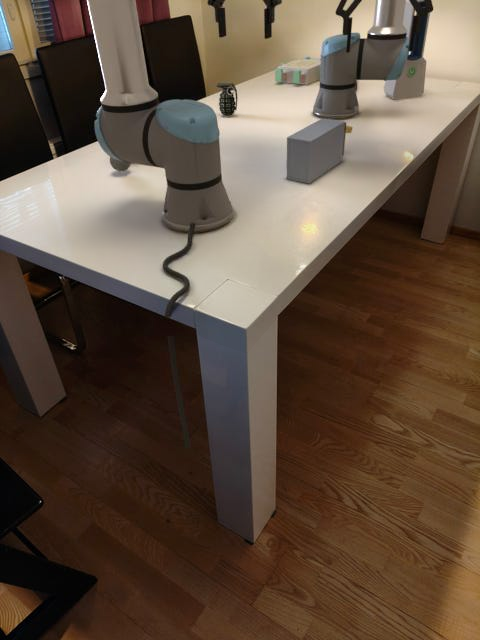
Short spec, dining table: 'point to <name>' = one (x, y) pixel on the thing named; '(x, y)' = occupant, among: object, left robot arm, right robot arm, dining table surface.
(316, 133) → the cabinet
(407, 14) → the electronic device
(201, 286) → the dining table surface
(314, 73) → the decorative block
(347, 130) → the drawer
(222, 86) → the grenade
